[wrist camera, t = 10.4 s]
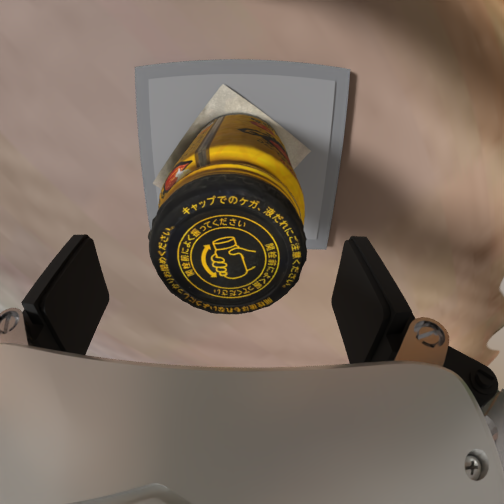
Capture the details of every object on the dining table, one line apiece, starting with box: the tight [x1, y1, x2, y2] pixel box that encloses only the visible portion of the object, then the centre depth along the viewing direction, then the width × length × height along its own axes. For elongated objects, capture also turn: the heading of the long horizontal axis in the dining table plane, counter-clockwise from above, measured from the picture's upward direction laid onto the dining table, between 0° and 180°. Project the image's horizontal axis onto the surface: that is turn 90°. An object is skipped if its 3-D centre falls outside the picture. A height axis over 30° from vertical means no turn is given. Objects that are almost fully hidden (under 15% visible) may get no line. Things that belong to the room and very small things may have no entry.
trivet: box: [135, 59, 350, 249], centre depth 20 cm, size 14×14×1 cm
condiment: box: [148, 84, 311, 314], centre depth 15 cm, size 7×8×12 cm
